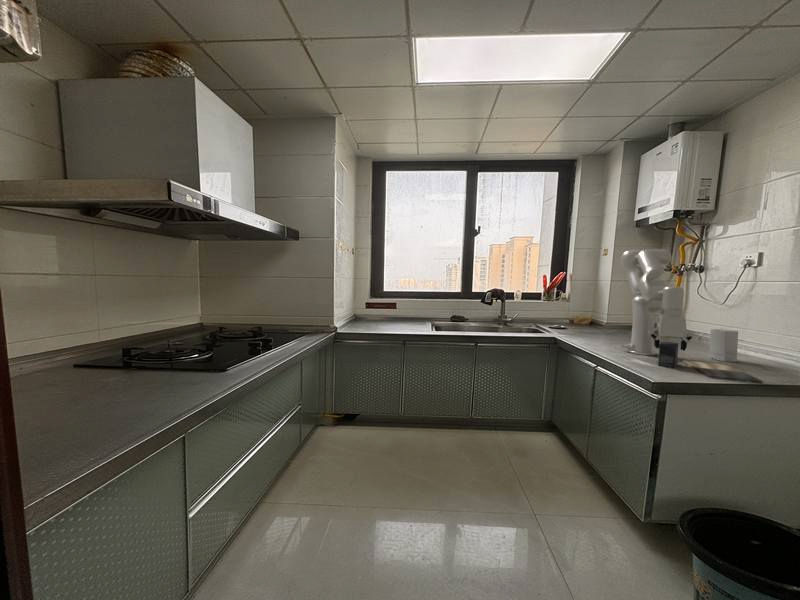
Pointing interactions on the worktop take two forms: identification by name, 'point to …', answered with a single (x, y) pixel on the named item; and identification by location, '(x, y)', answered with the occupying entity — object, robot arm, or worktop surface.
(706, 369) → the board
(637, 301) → the robot arm
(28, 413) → the worktop surface
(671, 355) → the small box
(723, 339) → the skincare box
